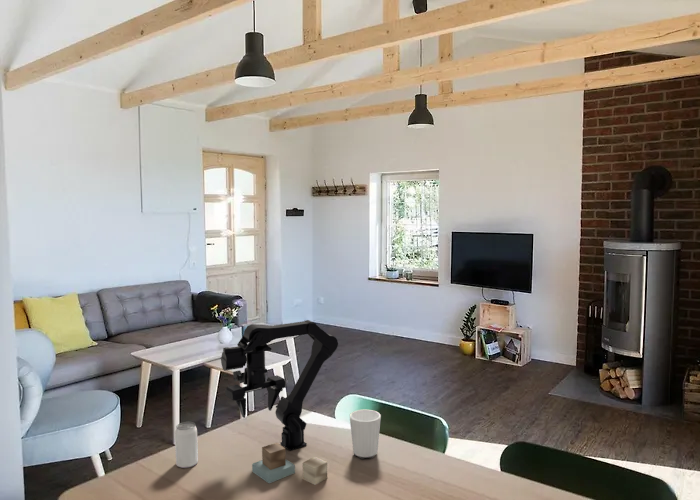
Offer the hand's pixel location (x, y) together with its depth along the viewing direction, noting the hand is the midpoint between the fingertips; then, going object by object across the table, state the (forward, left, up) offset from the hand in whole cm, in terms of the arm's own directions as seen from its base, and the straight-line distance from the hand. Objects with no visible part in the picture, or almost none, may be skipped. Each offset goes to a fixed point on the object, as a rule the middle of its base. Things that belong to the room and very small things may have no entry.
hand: (257, 413), depth 170 cm
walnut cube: (+2, +14, -11) cm, 17 cm away
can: (+20, -8, -13) cm, 25 cm away
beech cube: (-5, +24, -13) cm, 28 cm away
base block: (+2, +14, -14) cm, 19 cm away
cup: (-26, +22, -13) cm, 37 cm away
